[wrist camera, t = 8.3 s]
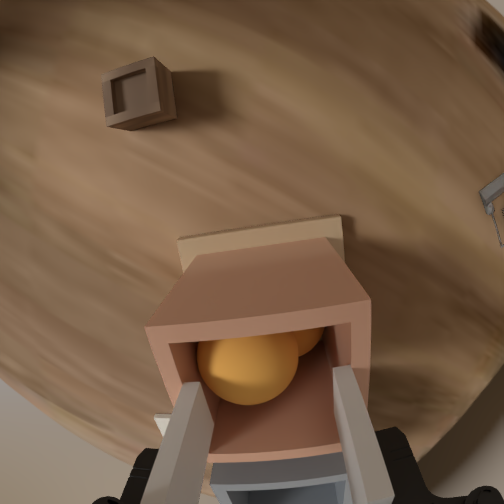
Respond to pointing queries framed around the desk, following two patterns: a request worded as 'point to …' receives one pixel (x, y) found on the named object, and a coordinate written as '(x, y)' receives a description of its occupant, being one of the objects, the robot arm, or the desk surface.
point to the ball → (249, 366)
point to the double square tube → (262, 323)
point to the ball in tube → (307, 339)
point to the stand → (138, 95)
